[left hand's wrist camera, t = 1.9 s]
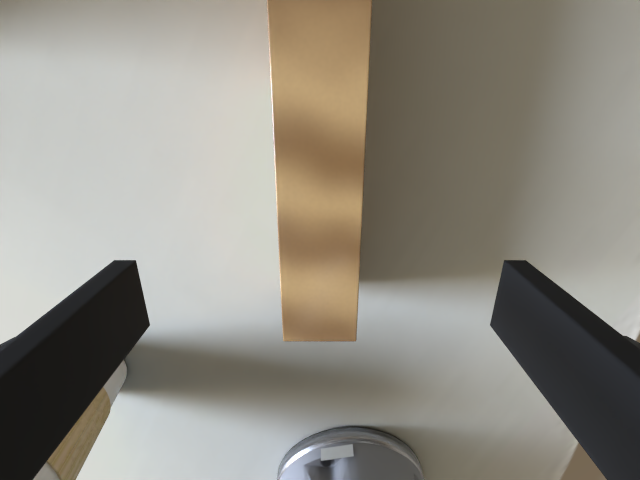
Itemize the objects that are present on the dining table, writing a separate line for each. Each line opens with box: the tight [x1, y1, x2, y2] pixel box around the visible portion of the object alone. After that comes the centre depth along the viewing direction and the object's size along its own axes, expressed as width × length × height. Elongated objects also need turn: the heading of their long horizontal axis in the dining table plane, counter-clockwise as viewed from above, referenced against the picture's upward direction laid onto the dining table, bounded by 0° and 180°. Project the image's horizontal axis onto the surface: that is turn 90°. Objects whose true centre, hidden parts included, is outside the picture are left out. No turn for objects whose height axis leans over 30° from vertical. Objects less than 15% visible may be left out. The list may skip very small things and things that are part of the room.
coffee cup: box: [33, 360, 127, 480], centre depth 24 cm, size 10×10×15 cm
